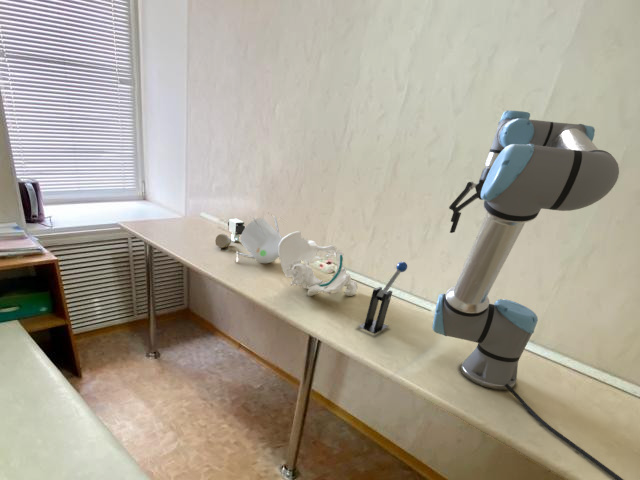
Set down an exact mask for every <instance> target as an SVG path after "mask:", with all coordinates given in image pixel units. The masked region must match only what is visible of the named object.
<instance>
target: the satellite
mask: <svg viewBox="0 0 640 480" xmlns="http://www.w3.org/2000/svg"><path fill="white" fill-rule="evenodd" d="M267 214H268V215H270V216H272V217H273V218H274V224H275V228H274V227H273V226H272V225H271V224H270V223H269V222H268V221H267V220H266V219H265V218H262V217H258V218H255V217H253V218H252V219H253V220H252V221H250V222H249V223H248V224H247V225H246V226H245V229H244V230H243V232H242V234H241V235H240V237H239V242H240V244H241V246H243V247H244V249H245V250H247V252H248V253H249V254H246V253H243V252H239V251H238V250H236V252H235V254H236V258H235V263H239V261H240V256H243V257H246V258H250V259H254V260H256V261H257V262H259V263H261V264H270V263H273V262H275V261H276V260H277V259H279V253H278V249H279V243H280V241H281V240H282V239H283V238H284V237H282V235H281V234H280V230H279V226H278V225H279V224H278V222H279V223H280V224H282V225H286V220H285V219H283V218H281V217H280V218H279V217H277V216H275V215H273V214H272V213H270V212H267ZM275 229H276V230H275Z"/></svg>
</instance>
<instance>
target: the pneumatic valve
mask: <svg viewBox="0 0 640 480" xmlns="http://www.w3.org/2000/svg"><path fill="white" fill-rule="evenodd" d="M227 227H228V229H227V230H228V232H230V233H232V234H231V236H230V237H231V238H230V239H231V242H234V243H235V242H236V243H237V242H238V243H239V242H240V237H241V234H242V232H243V230H244V229H245V228H246V226H245V222H244V221H243V220H242V219H241V220H240V219H238V218H228V222H227Z"/></svg>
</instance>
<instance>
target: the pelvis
mask: <svg viewBox="0 0 640 480" xmlns="http://www.w3.org/2000/svg"><path fill="white" fill-rule="evenodd" d="M301 233H302V232H301V230H297V231H293V232H290V233H288V234H287V235H285V236H283V237H282V238H283V239H282V240H281V241H280V243H279V249H278V253H279V257H278V259H279V260H280V265H281V270H282V272H283V274H284V275H285V277H287V278H290V279H291V278H292V280H291V282H290V284H289V285H290V286H292V285H293V286H294V285H296V286H298V285H299V287H301V288H303V289H306V290H307V296H309V297H313V296H314V295H317V294H319V293H323V294H329V295H330V294H331V293H336V294H338V293H340V292H342V291H343V289H344V288H345V291H343V294H344V295H345V296H347V297H353V296H355V295H356V293H357V290H358V288H359V287H358V282H357V281H356V280H352V277H351V274H349V273H347V268H346V267H344V252H343V251H342V250H340V249H338V247H336V246H335V245H333V244H329V245H328V246H321V245H318V244H317V242H316V240H309V239H308V238H304V237H303V236H302V234H301ZM318 252H325V253H327V254H326V255H323V256H317V254H318ZM332 257H335V258H336V271H335V273H334V274H333V275H332V277H331V278H330V279H329V280H328V281H324V280H322V279H320V278H318V277H317V276H316V275H315V273H314V270H313V268H312V267H311V266H310V264H313V263H316V262H318V261H322V260H324V259H326V258H332ZM302 262H304V263H302Z"/></svg>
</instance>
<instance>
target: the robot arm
mask: <svg viewBox="0 0 640 480" xmlns="http://www.w3.org/2000/svg"><path fill="white" fill-rule="evenodd" d="M530 118H531V113H530V112H528V111H523V110H522V111H521V110H505V111H504V112H503V113H502V115H501V117H500V120H499V121H498V124H497V128H496V131H495V134H494V137H493V139H492V140H493V141H492V143H491V146H490V149H489V152H488V154H487V157H486V159H485V163H484V168H483V169H482V171H481V174H480V177H479V180H478V182H477V183H475V182H474V181H468V182H466V185H465V187H464V188H463V190H462V191H461V193H460V194H459V195H458V196H457V197H456V198H455V199H454V200H453V201H452V203H451V204H450V205H449V206H448V209H449V210H451V211H452V215H451V218H450V222H451V223H452V224H451V227H450V230H449V233H451V234H453V233H455V232H456V229H457V226H458V224H459V221H460V218H461V215H462V212H461V211H462V210H463V209H465V208H466V207H467V206H469V205H470V204H471V203H473V202H474V201H475V200H477V199H479V200H481V201H483V205H482V206H483V209H484V211H485V212H486V214H485V216H484V218H483V220H482V223H481V225H480V228H479V231H478V233H477V235H476V237H475V239H474V241H473V244H472V246H471V248H470V251H469V254H468V256H467V258H466V259H465V263H464V264H463V267H462V269H461V272H460V274H459V276H458V279H457V281H456V283H455V285H453V286H451V287H449V288H447V291H446V292H445V293H439V294H438V297H437V299H436V305H435V310H434V314H433V315H434V316H433V321H432V326H431V328H432V331H433V332H434V333H435V334H438V335H442V336H444V337H450V338H455V339H459V340H463V341H468V342H473V343H477V344H476V345H477V346H476V347H475V348H474V349H473V350H472V352H470V354H468V356H467V357H466V358H465V359H464V360H463V361H462V363H461V366H460V372H461V373H462V375H463V376H464V377H465V378H466V379H467V380H469V381H470V382H473V383H474V384H476V385H479V386H481V387H484V388H487V389H492V390H496V391H509V392H510V393H511V394H512V395H513V396H514V397H515V398H516V399H517V401H518V402H519V403H520V404H521V405H522V406H523V407H524V408H525V409H526V410H527V412H529V414H530V415H532V416H533V417H534V418H535V419H536V420H537V421H538V422H539V423H540V424H541V425H542V426H544V427H545V428H546V429H547V430H548V431H550V432H551V433H552V434H554V435H555V436H557V437H558V438H559V439H560V440H562V441H564V442H565V443H566V444H567V445H569V446H570V447H572V448H573V449H574V450H576V451H577V452H579V453H580V454H581V455H582V456H584V457H585V458H586V459H588V460H589V461H591V462H592V463H593V464H595V465H596V466H597V467H598V468H600V469H602V471H604V472H605V473H606V474H608V475H609V476H611V477H612V478H613V479H614V480H624V478H622V477H621V476H619V475H618V474H617V473H615V472H614V471H613V470H612V469H610V468H609V467H607V466H606V465H605V464H603V463H602V462H601V461H599V460H598V459H597V458H595V457H593V456H592V454H590V453H588V452H587V451H585V450H584V449H582V448H581V447H580V446H578V445H577V444H575V443H574V442H573V441H571V440H570V439H568V438H567V437H566V436H565V435H563V434H562V433H560V432H559V431H557V430H556V429H555V428H554V427H552V426H551V425H549V423H547V422H546V421H545V420H544V419H542V418H541V417H540V415H538V414H537V413H536V412H535V411H534V410H533V409H532V408H531V407H530V406H529V405H528V404H527V403H526V401H524V399H523V398H522V397H521V396H520V395H519V394H518V393H517V391H515V390H514V389H513V387H514V386H515V384H516V382H517V379H518V368H519V367H518V365H519V361H520V359H521V357H522V355H523V353H524V351H525V348H526V347H527V345H528V343H529V341H530V339H531V337H532V335H533V334H534V333H535V329H536V327H537V324H538V321H539V319H538V316H537V314H536V312H534V311H533V309H530V308H529V307H527V306H525V305H523V304H521V303H519V302H516V301H513V300H510V299H506V298H505V299H502V298H500V299H497V300H496V301H495V302H494V304H493V303H490V298H489V296H488V295H489V293H490V292H491V290H492V288H493V286H494V283H496V280H497V278H498V276H499V274H500V273H501V270H502V269H503V266H504V265H505V262H506V261H507V259H508V257H509V255H510V254H511V251H512V249H513V247H514V246H515V243H516V242H517V240H518V237H519V236H520V234H521V232H522V230H523V228H524V227H525V224H526V223H529V222H532V221H534V220H535V219H536V218H537V217H538V215H539V213H540V212H541V211H542V210H549V211H551V210H552V211H559V212H570V211H576V210H580V209H584V208H586V207H589V206H591V205H594V204H596V203H597V202H599V201H601V200H602V199H603V198H605V197H606V196H607V195H608V194H609V193H610V192H611V191H612V190H613V188H614V187H615V186H616V184H617V181H618V179H619V175H620V167H619V163H618V161H617V159H616V158H615V157H614V156H613V154H611V153H610V152H608V151H607V150H603V149H599V148H598V147H597V145H595V143H594V142H593V140H594V137H595V132H596V130H595V127H594V126H592V125H587V124H583V123H568V122H566V123H565V122H555V121H548V120H540V119H539V120H537V119H530ZM474 189H475V193H474V194H473V195H471V196H470V197H469V198H467V199H466V200H465V201H464V202H462V201H463V200H464V198H465V197H466V196H467V195H468V194H469V193H470V192H471V191H472V190H474ZM461 202H462V203H461ZM460 203H461V204H460Z"/></svg>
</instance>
